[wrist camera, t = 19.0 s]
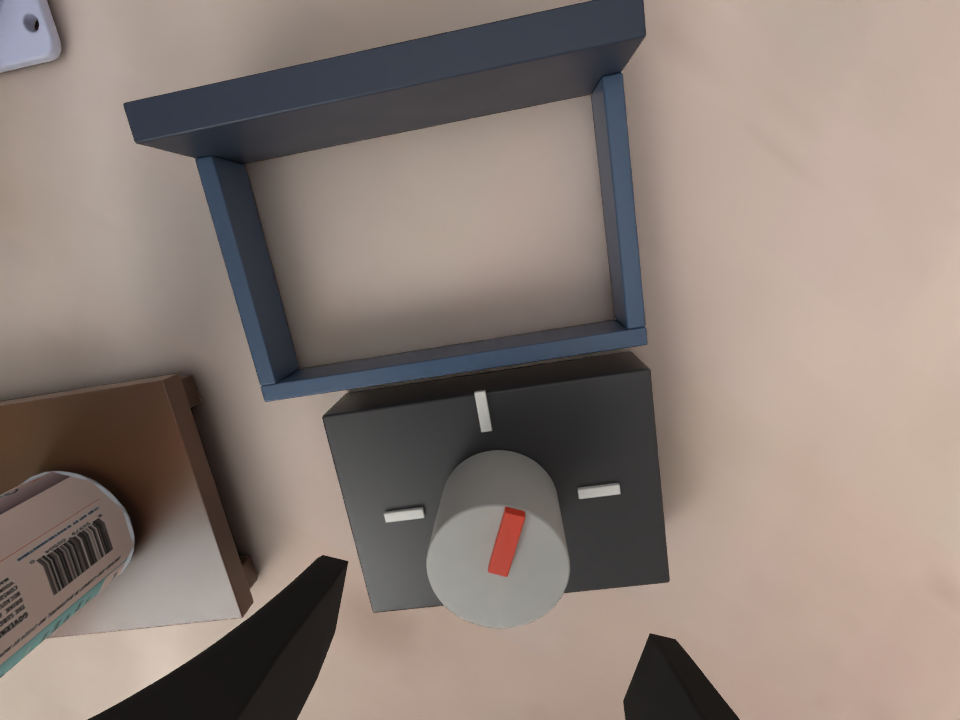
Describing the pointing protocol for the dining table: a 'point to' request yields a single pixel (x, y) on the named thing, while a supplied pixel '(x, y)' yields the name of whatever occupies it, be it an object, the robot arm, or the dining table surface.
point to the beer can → (55, 555)
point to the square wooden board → (138, 498)
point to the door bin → (394, 109)
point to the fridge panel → (512, 427)
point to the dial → (498, 542)
